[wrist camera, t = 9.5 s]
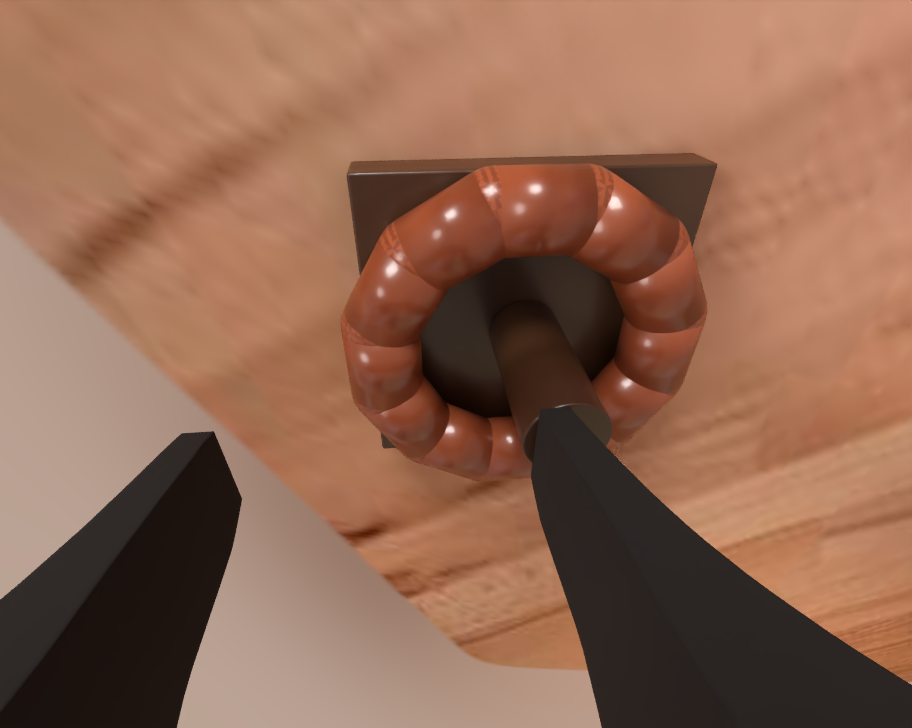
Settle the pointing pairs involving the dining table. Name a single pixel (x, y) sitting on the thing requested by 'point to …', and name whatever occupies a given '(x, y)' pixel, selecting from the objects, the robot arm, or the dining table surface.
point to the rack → (522, 293)
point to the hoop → (514, 236)
